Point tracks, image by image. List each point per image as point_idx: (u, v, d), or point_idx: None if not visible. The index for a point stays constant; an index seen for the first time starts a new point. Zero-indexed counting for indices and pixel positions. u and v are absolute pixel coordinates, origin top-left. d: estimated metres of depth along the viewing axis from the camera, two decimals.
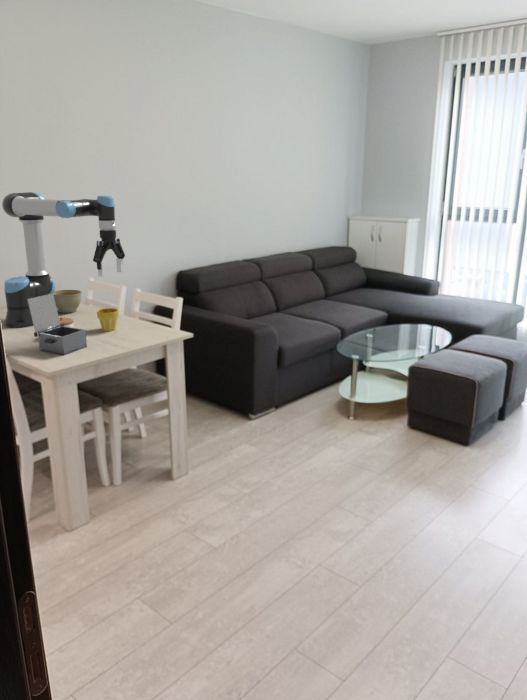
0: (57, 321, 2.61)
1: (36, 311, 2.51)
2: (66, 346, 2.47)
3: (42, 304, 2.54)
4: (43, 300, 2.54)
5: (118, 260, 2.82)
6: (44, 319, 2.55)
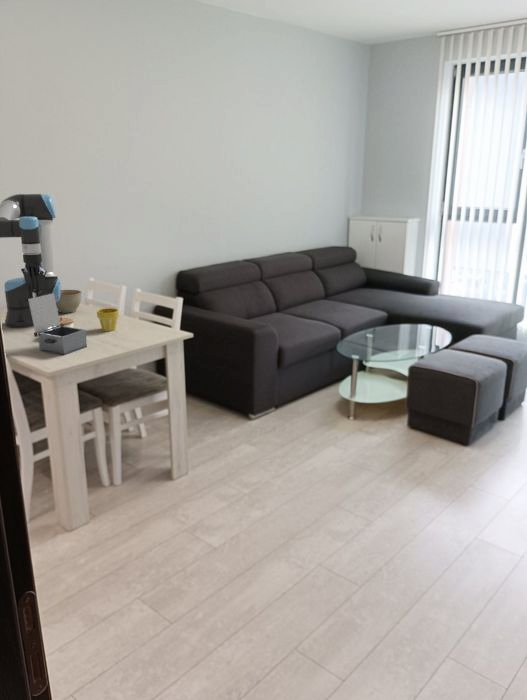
0: (57, 321, 2.61)
1: (36, 311, 2.51)
2: (66, 346, 2.47)
3: (43, 304, 2.54)
4: (44, 300, 2.54)
5: None
6: (44, 319, 2.54)
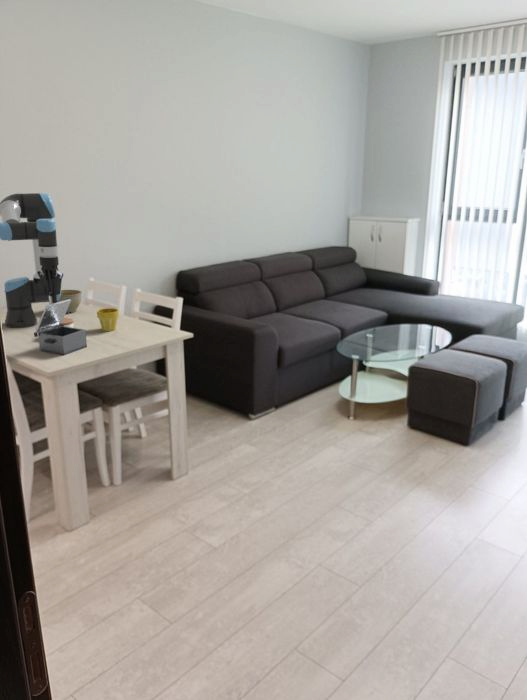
0: (59, 322, 2.61)
1: (47, 315, 2.49)
2: (66, 346, 2.47)
3: (56, 309, 2.51)
4: (59, 306, 2.51)
5: None
6: (50, 321, 2.53)
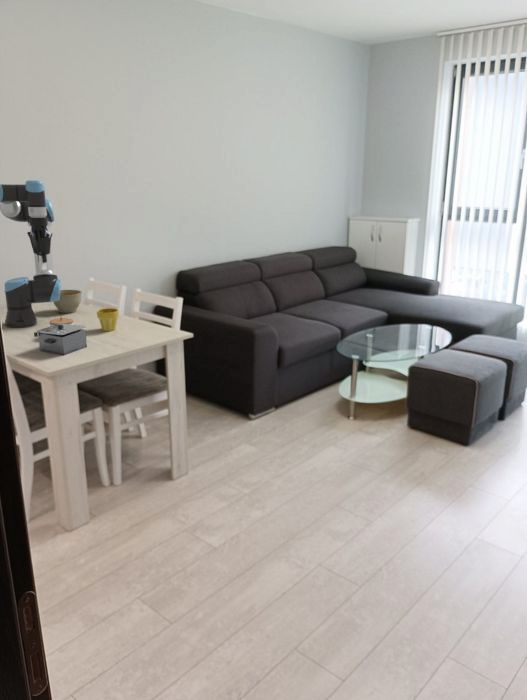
0: None
1: None
2: (66, 346, 2.47)
3: None
4: None
5: None
6: None
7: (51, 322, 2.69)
